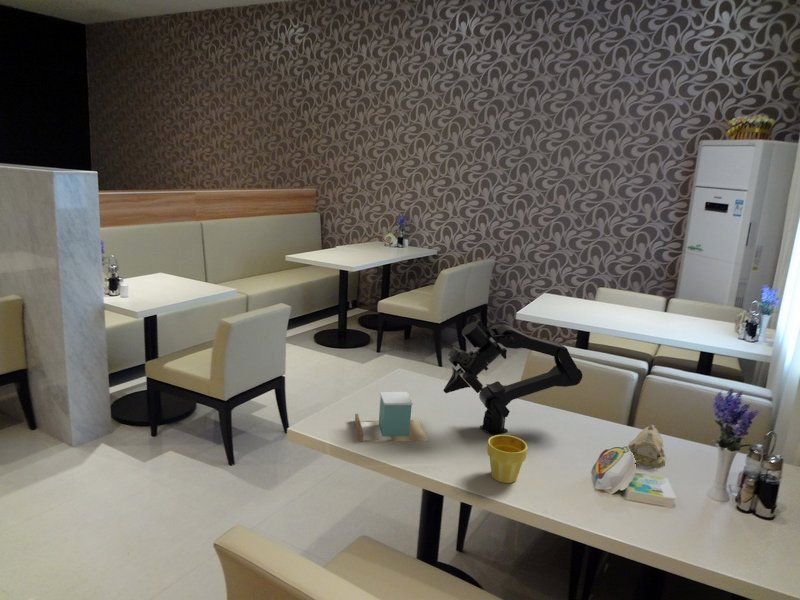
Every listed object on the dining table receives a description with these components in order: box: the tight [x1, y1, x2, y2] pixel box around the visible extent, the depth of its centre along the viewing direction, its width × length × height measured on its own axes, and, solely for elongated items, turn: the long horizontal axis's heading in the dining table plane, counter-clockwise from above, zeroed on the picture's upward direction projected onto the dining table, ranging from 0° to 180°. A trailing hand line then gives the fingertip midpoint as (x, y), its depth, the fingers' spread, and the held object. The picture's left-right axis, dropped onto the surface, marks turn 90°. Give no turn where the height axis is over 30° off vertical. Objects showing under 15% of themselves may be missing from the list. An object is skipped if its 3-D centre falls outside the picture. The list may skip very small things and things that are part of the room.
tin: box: [378, 391, 414, 436], centre depth 173 cm, size 8×8×11 cm
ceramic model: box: [627, 424, 667, 469], centre depth 169 cm, size 14×11×10 cm
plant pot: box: [486, 434, 528, 484], centre depth 152 cm, size 10×10×10 cm
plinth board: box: [354, 413, 428, 443], centre depth 174 cm, size 20×14×3 cm
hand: (444, 391), depth 175 cm, fingers closed
